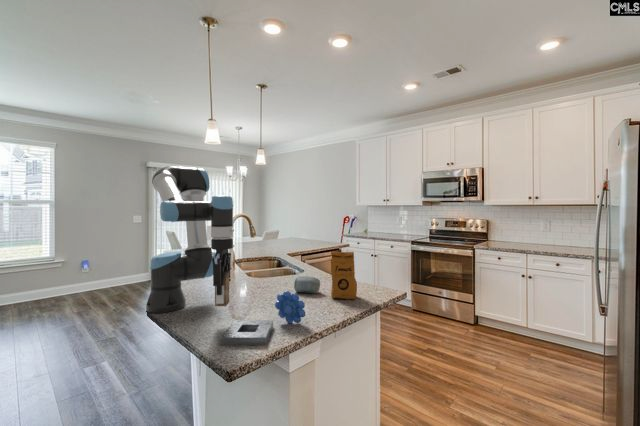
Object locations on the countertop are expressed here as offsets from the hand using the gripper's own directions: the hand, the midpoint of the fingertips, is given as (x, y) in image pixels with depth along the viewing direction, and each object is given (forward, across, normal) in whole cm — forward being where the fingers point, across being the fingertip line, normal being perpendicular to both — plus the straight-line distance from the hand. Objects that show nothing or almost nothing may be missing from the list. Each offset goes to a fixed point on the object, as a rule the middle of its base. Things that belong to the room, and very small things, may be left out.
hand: (222, 301), depth 107 cm
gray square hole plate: (+8, -10, -12) cm, 18 cm away
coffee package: (+9, +32, -47) cm, 58 cm away
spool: (+9, +40, -29) cm, 51 cm away
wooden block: (+1, 0, 0) cm, 1 cm away
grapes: (+8, -1, -25) cm, 26 cm away
